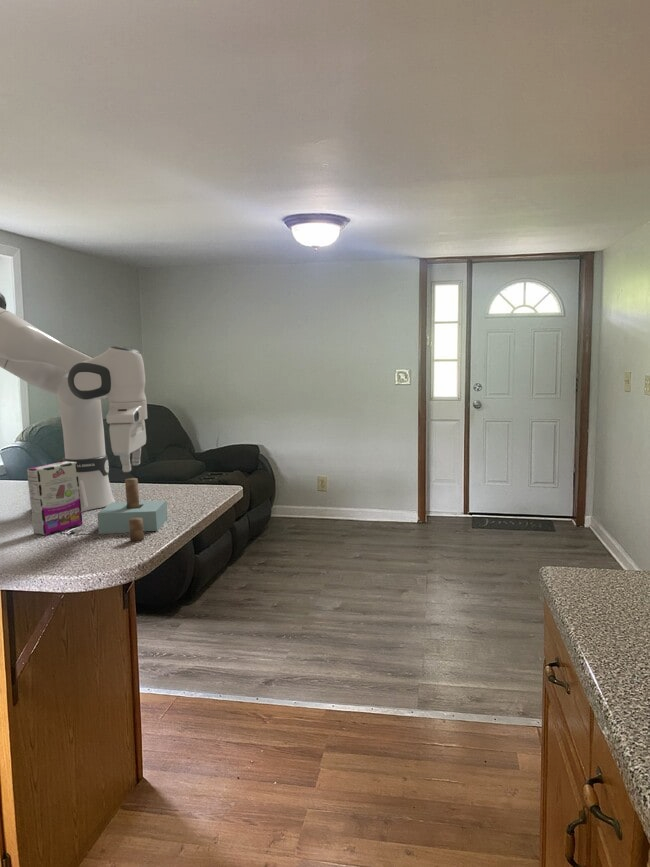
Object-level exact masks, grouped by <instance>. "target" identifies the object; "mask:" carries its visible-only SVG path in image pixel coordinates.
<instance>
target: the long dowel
mask: <svg viewBox="0 0 650 867" xmlns="http://www.w3.org/2000/svg"><path fill="white" fill-rule="evenodd" d="M124 484H125V495H126V496H125V497H126V502H127V509H137V508H140V506H139V501H140V494H139V479H138V478H136V477H130V478H125V479H124Z"/></svg>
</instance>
